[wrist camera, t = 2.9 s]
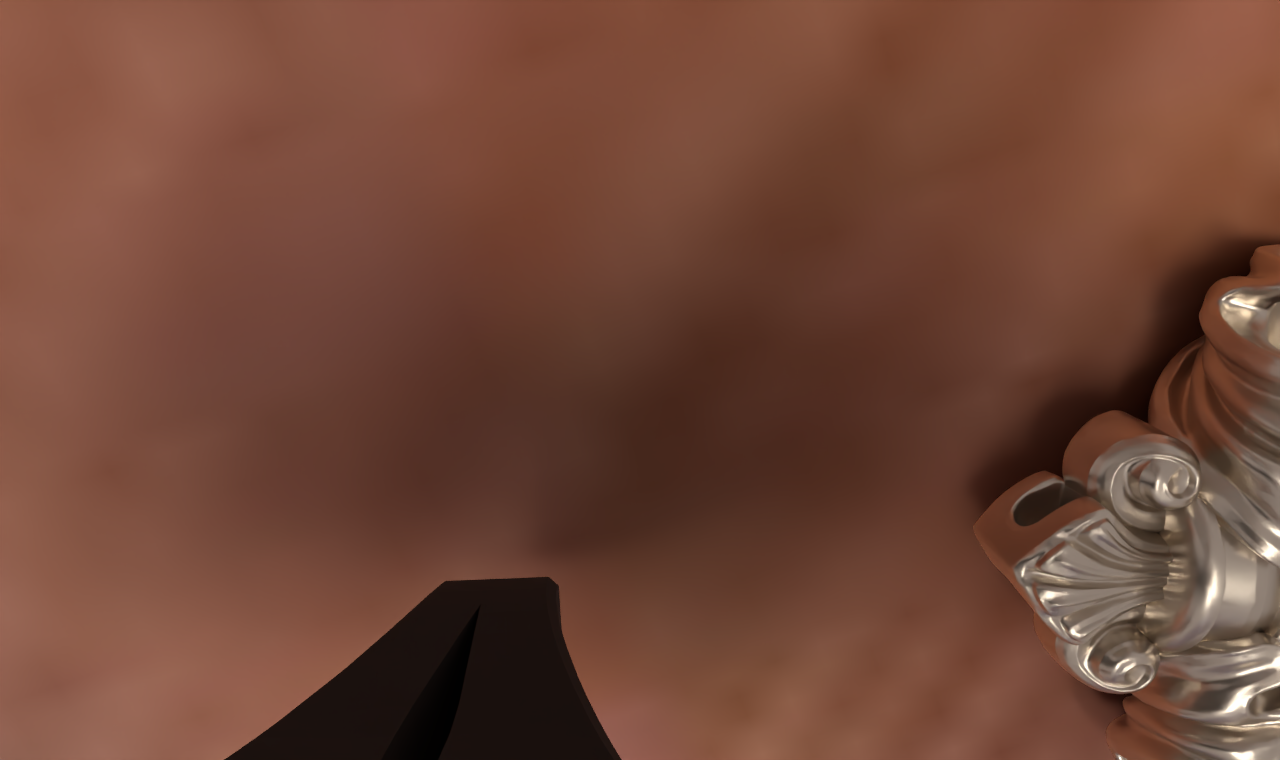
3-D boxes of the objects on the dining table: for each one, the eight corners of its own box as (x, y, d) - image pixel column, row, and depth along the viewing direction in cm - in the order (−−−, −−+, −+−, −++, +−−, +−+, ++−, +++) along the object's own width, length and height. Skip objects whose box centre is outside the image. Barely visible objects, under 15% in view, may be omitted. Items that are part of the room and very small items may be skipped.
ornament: (981, 227, 12) (1140, 258, 8) (1461, 248, 12) (1821, 288, 8) (906, 723, 14) (1008, 922, 10) (1314, 732, 14) (1553, 929, 10)
